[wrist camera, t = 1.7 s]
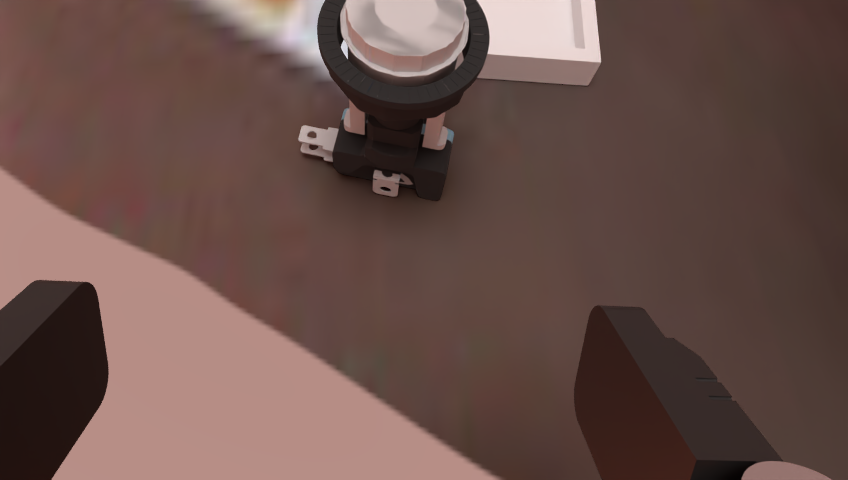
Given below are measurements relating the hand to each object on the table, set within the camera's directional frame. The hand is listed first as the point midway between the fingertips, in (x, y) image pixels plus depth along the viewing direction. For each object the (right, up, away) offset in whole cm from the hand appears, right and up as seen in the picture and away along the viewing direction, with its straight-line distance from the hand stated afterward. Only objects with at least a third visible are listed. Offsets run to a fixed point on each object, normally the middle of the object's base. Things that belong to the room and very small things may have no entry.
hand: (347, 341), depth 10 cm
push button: (-1, +5, +17) cm, 18 cm away
